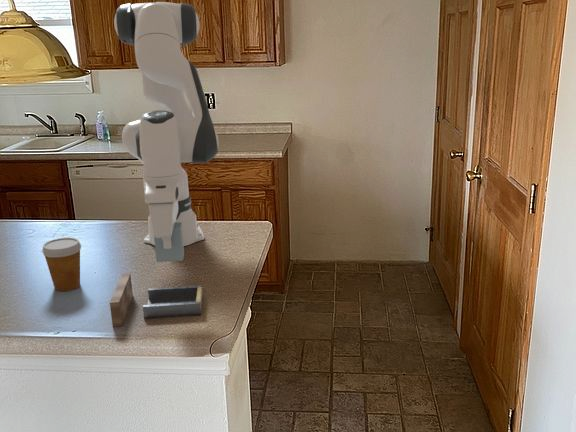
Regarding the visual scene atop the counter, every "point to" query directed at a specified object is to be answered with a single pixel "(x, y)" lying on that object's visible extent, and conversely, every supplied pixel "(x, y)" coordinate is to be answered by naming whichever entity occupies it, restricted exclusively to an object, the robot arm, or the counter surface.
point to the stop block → (175, 251)
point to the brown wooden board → (121, 300)
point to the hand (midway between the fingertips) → (169, 243)
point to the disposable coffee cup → (63, 262)
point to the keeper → (173, 302)
